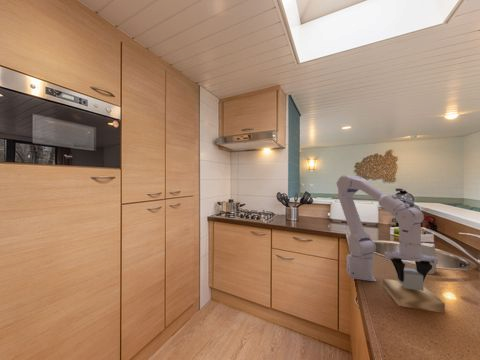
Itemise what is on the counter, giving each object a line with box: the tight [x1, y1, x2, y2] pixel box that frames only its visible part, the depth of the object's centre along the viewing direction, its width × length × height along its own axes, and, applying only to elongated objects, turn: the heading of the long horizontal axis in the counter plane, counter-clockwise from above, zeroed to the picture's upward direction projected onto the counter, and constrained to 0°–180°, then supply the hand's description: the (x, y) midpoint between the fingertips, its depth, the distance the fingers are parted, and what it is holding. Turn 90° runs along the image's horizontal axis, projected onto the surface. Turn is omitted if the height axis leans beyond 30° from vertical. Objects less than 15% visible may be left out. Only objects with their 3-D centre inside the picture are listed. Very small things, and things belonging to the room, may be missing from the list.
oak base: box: [382, 278, 446, 314], centre depth 67 cm, size 12×12×3 cm
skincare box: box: [421, 242, 437, 275], centre depth 87 cm, size 6×4×12 cm
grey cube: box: [397, 267, 424, 291], centre depth 67 cm, size 5×5×5 cm
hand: (410, 281), depth 67 cm, fingers closed on grey cube, 5 cm apart
